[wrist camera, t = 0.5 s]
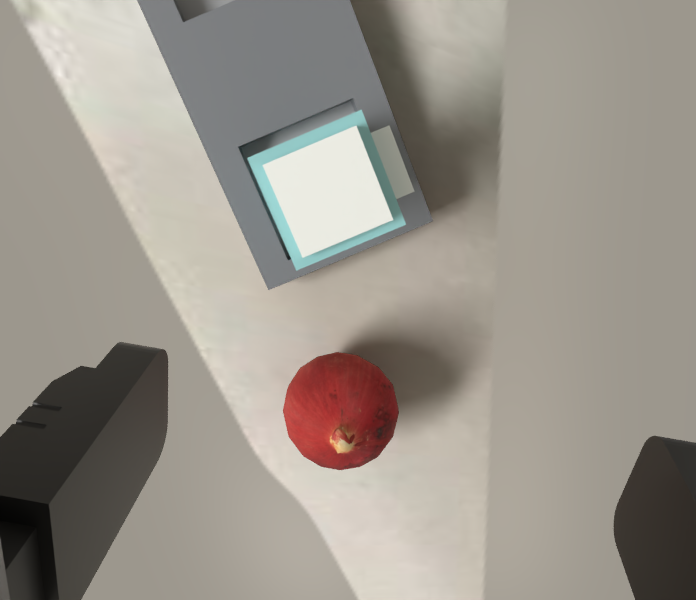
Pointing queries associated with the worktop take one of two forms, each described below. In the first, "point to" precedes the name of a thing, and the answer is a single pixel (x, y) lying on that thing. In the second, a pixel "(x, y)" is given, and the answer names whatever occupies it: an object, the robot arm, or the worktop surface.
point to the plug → (333, 187)
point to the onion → (340, 411)
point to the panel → (272, 98)
